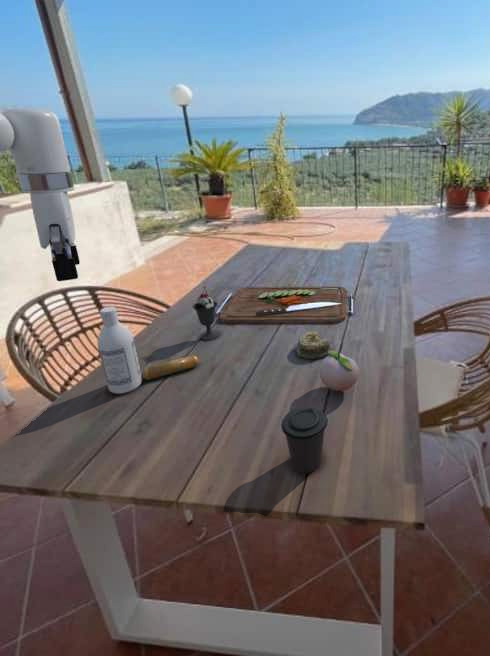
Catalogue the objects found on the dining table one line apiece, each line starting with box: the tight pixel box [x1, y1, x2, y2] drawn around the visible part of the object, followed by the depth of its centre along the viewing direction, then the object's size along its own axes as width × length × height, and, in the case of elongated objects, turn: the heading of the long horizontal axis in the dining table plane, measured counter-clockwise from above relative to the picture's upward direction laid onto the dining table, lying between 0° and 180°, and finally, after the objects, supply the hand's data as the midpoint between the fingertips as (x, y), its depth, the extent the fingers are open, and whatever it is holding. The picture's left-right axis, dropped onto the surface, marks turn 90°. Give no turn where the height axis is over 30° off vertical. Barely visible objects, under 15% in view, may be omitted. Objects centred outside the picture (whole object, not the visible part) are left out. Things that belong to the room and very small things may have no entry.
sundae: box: [192, 286, 219, 341], centre depth 111 cm, size 7×7×15 cm
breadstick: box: [141, 355, 200, 381], centre depth 96 cm, size 13×3×3 cm, turn 122°
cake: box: [296, 331, 333, 360], centre depth 106 cm, size 10×10×5 cm
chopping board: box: [215, 286, 354, 324], centre depth 134 cm, size 45×27×3 cm, turn 91°
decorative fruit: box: [318, 350, 360, 392], centre depth 89 cm, size 9×8×10 cm
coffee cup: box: [280, 405, 329, 474], centre depth 70 cm, size 8×8×10 cm
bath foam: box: [96, 306, 143, 395], centre depth 88 cm, size 7×7×20 cm
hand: (69, 272), depth 76 cm, fingers open, 9 cm apart
